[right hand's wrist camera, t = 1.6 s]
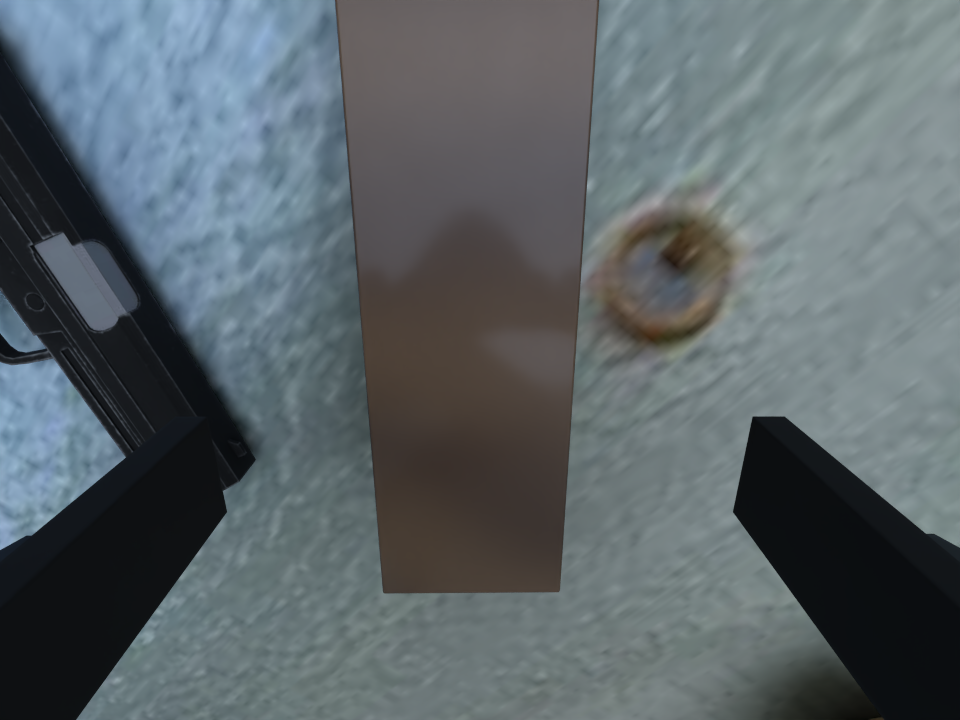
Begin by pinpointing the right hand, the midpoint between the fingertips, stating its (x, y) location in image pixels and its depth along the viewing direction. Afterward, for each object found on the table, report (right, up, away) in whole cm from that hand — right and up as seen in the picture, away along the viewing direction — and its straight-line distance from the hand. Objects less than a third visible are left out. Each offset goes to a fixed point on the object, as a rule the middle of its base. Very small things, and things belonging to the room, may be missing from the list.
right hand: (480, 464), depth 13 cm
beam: (0, +24, +3) cm, 24 cm away
